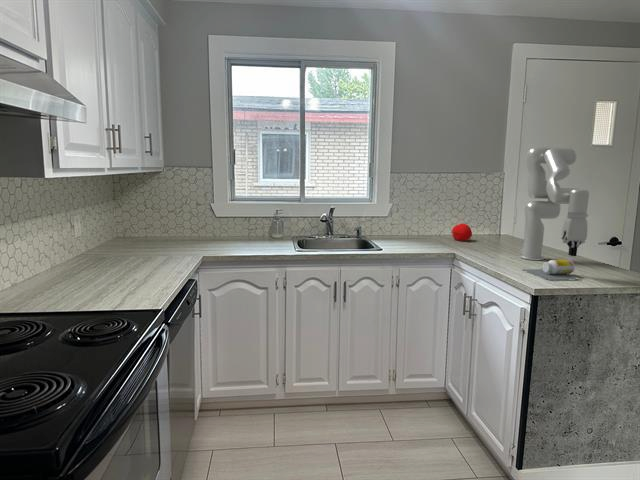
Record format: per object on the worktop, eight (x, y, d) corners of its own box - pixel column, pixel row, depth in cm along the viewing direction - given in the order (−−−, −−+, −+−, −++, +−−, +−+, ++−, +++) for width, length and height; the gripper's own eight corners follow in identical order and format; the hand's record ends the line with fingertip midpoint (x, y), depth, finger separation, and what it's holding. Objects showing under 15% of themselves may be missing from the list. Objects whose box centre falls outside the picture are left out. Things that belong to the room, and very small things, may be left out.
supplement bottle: (565, 258, 209) (541, 258, 206) (576, 261, 202) (551, 261, 200) (564, 271, 210) (540, 272, 207) (574, 275, 203) (549, 275, 201)
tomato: (470, 246, 295) (456, 243, 307) (479, 230, 296) (465, 228, 308) (457, 236, 290) (444, 234, 302) (467, 220, 291) (453, 218, 303)
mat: (522, 270, 213) (522, 269, 213) (552, 269, 216) (552, 268, 216) (549, 280, 194) (549, 279, 194) (581, 280, 196) (581, 279, 196)
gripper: (585, 215, 206) (580, 253, 209) (556, 215, 204) (552, 254, 207) (597, 217, 199) (592, 257, 202) (567, 217, 197) (563, 257, 200)
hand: (572, 255), depth 205 cm, fingers closed
